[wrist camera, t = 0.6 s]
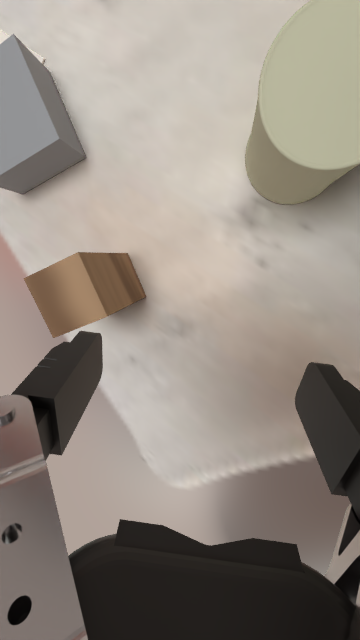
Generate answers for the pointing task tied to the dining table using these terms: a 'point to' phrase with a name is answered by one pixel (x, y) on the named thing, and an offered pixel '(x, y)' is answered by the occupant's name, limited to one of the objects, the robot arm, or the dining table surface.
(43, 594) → the robot arm
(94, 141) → the dining table surface
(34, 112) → the base block
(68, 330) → the walnut brick
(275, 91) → the can
